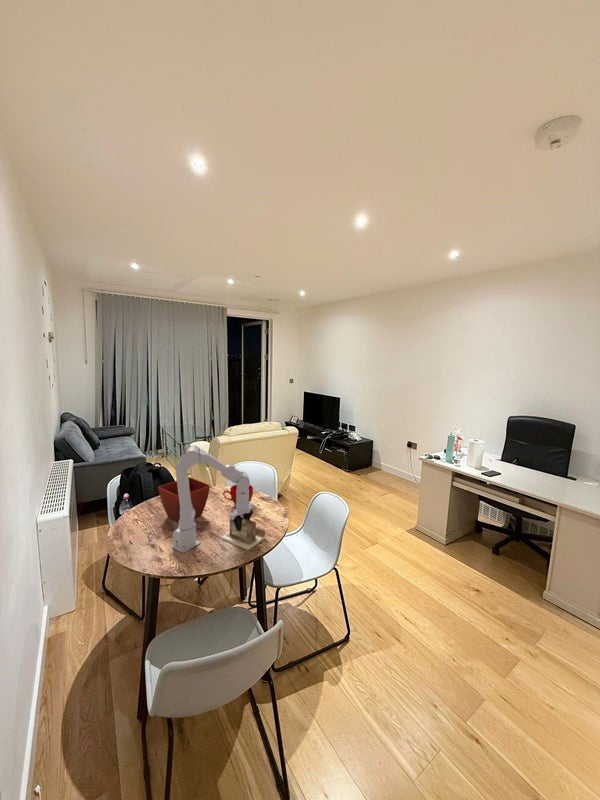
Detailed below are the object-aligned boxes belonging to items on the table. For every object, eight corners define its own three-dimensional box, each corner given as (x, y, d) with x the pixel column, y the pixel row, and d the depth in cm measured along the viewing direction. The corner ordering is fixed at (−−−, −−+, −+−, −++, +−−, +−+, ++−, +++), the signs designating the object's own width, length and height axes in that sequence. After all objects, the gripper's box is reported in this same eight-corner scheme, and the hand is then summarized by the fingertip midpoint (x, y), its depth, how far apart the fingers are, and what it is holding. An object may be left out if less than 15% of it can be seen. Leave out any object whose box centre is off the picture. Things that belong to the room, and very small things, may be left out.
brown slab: (249, 543, 144) (249, 526, 143) (229, 535, 150) (229, 518, 149) (255, 538, 148) (255, 522, 147) (236, 531, 154) (236, 515, 153)
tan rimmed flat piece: (248, 550, 141) (248, 541, 140) (221, 539, 149) (221, 530, 149) (265, 538, 151) (265, 529, 151) (239, 528, 159) (239, 520, 159)
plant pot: (178, 529, 157) (178, 496, 155) (157, 517, 168) (157, 486, 166) (210, 515, 172) (210, 485, 170) (189, 505, 183) (189, 476, 181)
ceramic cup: (222, 501, 190) (222, 485, 189) (251, 499, 195) (251, 483, 194) (223, 511, 178) (223, 493, 177) (254, 508, 182) (254, 491, 181)
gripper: (238, 507, 139) (238, 537, 140) (259, 496, 151) (258, 524, 153) (226, 503, 143) (226, 532, 144) (247, 493, 155) (247, 520, 156)
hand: (242, 528), depth 149 cm, fingers open, 5 cm apart
